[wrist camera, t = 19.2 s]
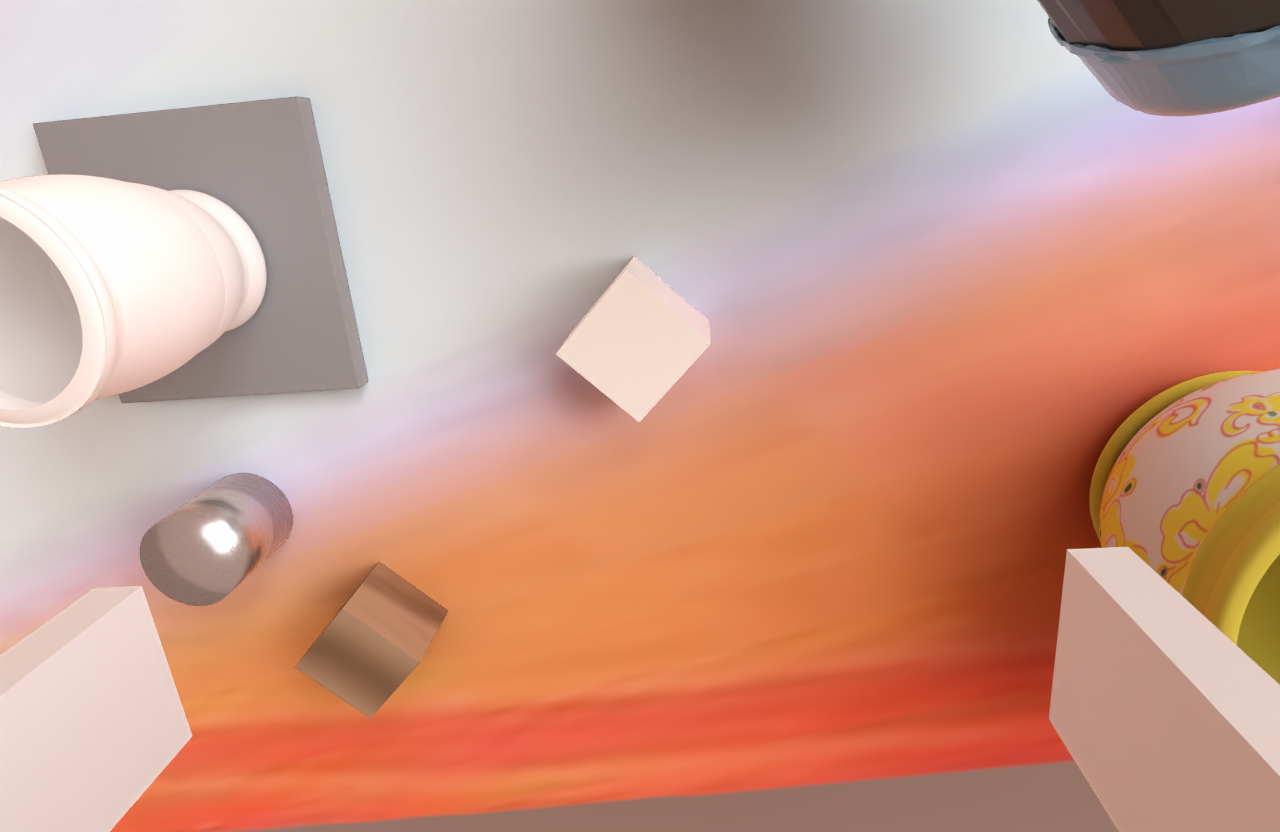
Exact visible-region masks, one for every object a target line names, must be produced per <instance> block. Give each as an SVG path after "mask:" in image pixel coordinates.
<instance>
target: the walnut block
mask: <svg viewBox="0 0 1280 832" xmlns="http://www.w3.org/2000/svg"><path fill="white" fill-rule="evenodd" d="M447 612H448V610H446V609H445V608H444V607H442V606H441V605H439V604H438V603H437V602H435V601H434V600H433V599H431V598H430V597H428V596H427V595H426V594H424V593H423V592H421V591H420V590H419V589H417V588H416V587H414V586H413V585H412V584H410V583H409V582H407V581H406V580H405V579H403V578H402V577H400V576H399V575H398V574H396V573H395V572H393V571H392V570H391V569H389V568H388V567H386V566H385V565H384V564H382V563H381V562H379V563H378V564H377V565H376V566H375V568H374V569H373V570H372V571H371V572H370V574H369V575H368V576H367V577H366V579H365V580H364V581H363V582H362V584H361V585H360V586H359V587H358V588H357V590H356V591H355V592H354V593H353V595H352V596H351V597H350V598H349V600H348V601H347V602H346V603H345V604H344V606H343V607H342V608H341V609H340V611H339V612H338V613H337V614H336V616H335V617H334V618H333V619H332V621H331V622H330V623H329V624H328V626H327V627H326V628H325V630H324V631H323V632H322V633H321V635H320V636H319V637H318V638H317V640H316V641H315V642H314V644H313V645H312V646H311V647H310V649H309V650H308V651H307V653H306V654H305V655H304V656H303V658H302V659H301V660H300V661H299V663H298V664H297V665H296V667H295V668H297V669H298V670H300V671H301V672H303V673H304V674H306V675H307V676H308V677H310V678H311V679H313V680H314V681H316V682H317V683H319V684H320V685H322V686H323V687H325V688H326V689H328V690H329V691H331V692H332V693H334V694H335V695H337V696H338V697H339V698H341V699H342V700H344V701H345V702H347V703H348V704H350V705H351V706H353V707H354V708H356V709H357V710H359V711H360V712H362V713H363V714H365V715H366V716H368V717H369V718H371V717H372V716H373V715H374V714H375V713H376V711H377V710H378V709H379V708H380V707H381V706H382V705H383V704H384V702H385V701H386V700H387V699H388V698H389V697H390V696H391V695H392V693H393V692H394V691H395V690H396V689H397V688H398V687H399V686H400V684H401V683H402V682H403V681H404V680H405V679H406V678H407V677H408V675H409V674H410V673H411V672H412V671H413V670H414V669H415V668H416V666H417V665H418V664H419V663H420V661H421V660H422V658H423V656H424V654H425V652H426V650H427V649H428V647H429V645H430V643H431V641H432V639H433V638H434V636H435V634H436V632H437V630H438V628H439V627H440V625H441V623H442V621H443V619H444V617H445V616H446V614H447Z"/></svg>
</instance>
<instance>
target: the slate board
mask: <svg viewBox="0 0 1280 832" xmlns="http://www.w3.org/2000/svg"><path fill="white" fill-rule="evenodd" d="M33 126H34V129H35V132H36V135H37V138H38V142H39V145H40V148H41V151H42V154H43V157H44V160H45V164H46V167H47V170H48V173H49V175H60V174H66V175H86V176H96V177H103V178H109V179H115V180H120V181H124V182H130V183H137V184H143V185H148V186H153V187H157V188H160V189H164V190H167V191H171V190H193V191H198V192H201V193H205V194H207V195H210V196H212V197H214V198H216V199H218V200H220V201H222V202H223V203H225V204H226V205H228V206H229V207H230V208H232V209H233V210H234V211H235V212H236V213H237V214H238V215H239V216H240V217H241V218H242V219H243V220H244V221H245V222H246V223H247V225H248V226H249V227H250V229H251V230H252V232H253V233H254V235H255V237H256V239H257V240H258V242H259V245H260V247H261V250H262V252H263V256H264V259H265V265H266V273H267V281H266V289H265V294H264V297H263V300H262V302H261V304H260V306H259V308H258V309H257V311H256V312H255V314H254V315H253V316H252V317H251V318H250V319H249V320H248V321H246V322H245V323H244V324H242V325H241V326H239V327H237V328H235V329H232V330H229V331H225V332H224V333H223V334H222V335H221V336H220V337H219V338H218V339H217V340H216V341H215V342H213V343H212V344H211V345H210V346H208V347H207V348H205V349H204V350H202V351H201V352H199V353H198V354H196V355H195V356H194V357H193V358H192V359H190V360H189V361H188V362H186V363H185V364H184V365H182V366H181V367H179V368H178V369H176V370H174V371H173V372H171V373H169V374H168V375H166V376H164V377H162V378H160V379H158V380H156V381H154V382H152V383H149V384H147V385H145V386H142V387H139V388H137V389H134V390H131V391H128V392H124V393H121V394H119V395H120V398H121V402H122V403H133V402H149V401H164V400H180V399H196V398H211V397H227V396H243V395H258V394H274V393H289V392H305V391H321V390H336V389H352V388H359V387H361V386H362V385H364V384H365V383H367V382H368V377H367V372H366V368H365V363H364V358H363V353H362V348H361V344H360V339H359V334H358V329H357V324H356V319H355V315H354V310H353V305H352V300H351V295H350V291H349V286H348V281H347V276H346V271H345V267H344V262H343V257H342V252H341V247H340V243H339V238H338V233H337V228H336V223H335V219H334V214H333V209H332V204H331V199H330V195H329V190H328V185H327V180H326V175H325V170H324V166H323V161H322V156H321V151H320V146H319V142H318V137H317V132H316V127H315V122H314V118H313V113H312V108H311V103H310V98H303V97H288V98H278V99H268V100H259V101H249V102H239V103H229V104H219V105H210V106H200V107H190V108H180V109H171V110H161V111H151V112H141V113H131V114H122V115H112V116H102V117H92V118H82V119H73V120H63V121H53V122H43V123H34V124H33Z"/></svg>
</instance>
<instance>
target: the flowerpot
mask: <svg viewBox="0 0 1280 832" xmlns="http://www.w3.org/2000/svg"><path fill="white" fill-rule="evenodd" d="M1089 505H1090V514H1091V519H1092V523H1093V526H1094V529H1095V532H1096V534H1097V536H1098V538H1099V540H1100V544H1101V548H1109V547H1129V548H1130V549H1131V550H1132V551H1133V552H1134V553H1135V554H1136V555H1138V556H1139V557H1140V558H1141V559H1142V560H1143V561H1144V562H1145V563H1146V564H1147V565H1149V566H1150V567H1151V568H1152V569H1153V570H1154V571H1155V572H1156V573H1157V574H1158V575H1160V576H1161V577H1162V578H1163V579H1164V580H1165V581H1166V582H1167V583H1168V584H1169V585H1171V586H1172V587H1173V588H1174V589H1175V590H1176V591H1177V592H1178V593H1179V594H1180V595H1182V596H1183V597H1184V598H1185V599H1186V600H1187V601H1188V602H1189V603H1190V604H1191V605H1193V606H1194V607H1195V608H1196V609H1197V610H1198V611H1199V612H1200V613H1201V614H1202V615H1204V616H1205V617H1206V618H1207V619H1208V620H1209V621H1210V622H1211V623H1212V624H1213V625H1215V626H1216V627H1217V628H1218V629H1219V630H1220V631H1221V632H1222V633H1223V634H1224V635H1226V636H1227V637H1228V638H1229V639H1230V640H1231V641H1232V642H1233V643H1234V644H1235V645H1236V646H1238V647H1239V648H1240V649H1241V650H1242V651H1243V652H1244V653H1245V654H1246V655H1247V656H1249V657H1250V658H1251V659H1252V660H1253V661H1254V662H1255V663H1256V664H1257V665H1258V666H1260V667H1261V668H1262V669H1263V670H1264V671H1265V672H1266V673H1267V674H1268V675H1269V676H1271V677H1272V678H1273V679H1274V680H1275V681H1276V682H1277V683H1278V684H1279V685H1280V369H1274V370H1266V371H1260V372H1258V371H1225V372H1217V373H1212V374H1207V375H1203V376H1199V377H1196V378H1193V379H1190V380H1187V381H1184V382H1182V383H1179V384H1177V385H1175V386H1173V387H1171V388H1169V389H1167V390H1165V391H1163V392H1161V393H1159V394H1158V395H1156V396H1155V397H1153V398H1151V399H1150V400H1148V401H1147V402H1146V403H1144V404H1143V405H1142V406H1140V407H1139V408H1138V409H1137V410H1136V411H1134V412H1133V413H1132V414H1131V415H1130V416H1129V417H1128V418H1127V419H1126V420H1125V421H1124V422H1123V423H1122V424H1121V425H1120V426H1119V428H1118V429H1117V430H1116V431H1115V433H1114V434H1113V435H1112V437H1111V438H1110V439H1109V441H1108V442H1107V444H1106V446H1105V447H1104V449H1103V451H1102V453H1101V455H1100V457H1099V459H1098V461H1097V464H1096V466H1095V469H1094V473H1093V476H1092V480H1091V485H1090V495H1089Z"/></svg>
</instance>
